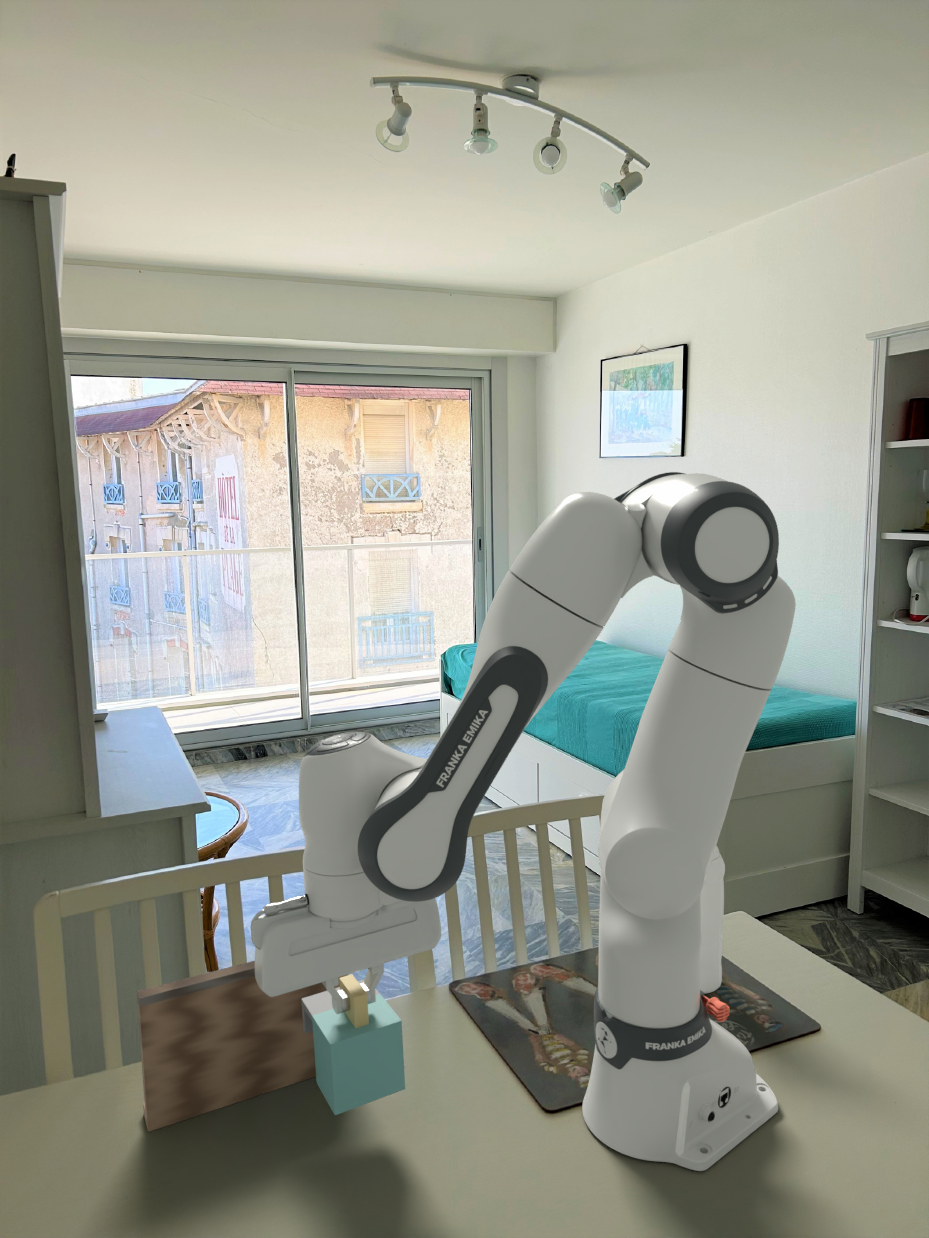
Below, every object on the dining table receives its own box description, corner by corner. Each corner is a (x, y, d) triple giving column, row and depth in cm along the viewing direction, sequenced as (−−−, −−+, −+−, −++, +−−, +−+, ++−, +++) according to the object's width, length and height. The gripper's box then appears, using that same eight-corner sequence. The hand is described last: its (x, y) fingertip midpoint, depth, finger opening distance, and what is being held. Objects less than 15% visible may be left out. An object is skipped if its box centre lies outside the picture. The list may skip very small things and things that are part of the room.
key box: (371, 1041, 104) (365, 950, 102) (405, 1088, 95) (399, 990, 94) (305, 1063, 100) (299, 969, 99) (335, 1115, 92) (328, 1012, 90)
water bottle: (723, 998, 122) (729, 826, 119) (671, 993, 124) (675, 823, 120) (719, 971, 129) (724, 808, 125) (670, 966, 130) (673, 805, 127)
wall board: (342, 1049, 112) (338, 931, 110) (351, 1064, 109) (347, 943, 107) (143, 1113, 101) (134, 983, 98) (148, 1131, 98) (138, 998, 95)
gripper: (257, 921, 86) (267, 1052, 88) (444, 873, 95) (450, 992, 97) (241, 897, 91) (251, 1020, 93) (420, 853, 101) (425, 966, 103)
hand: (354, 1005), depth 95 cm, fingers closed on key box
